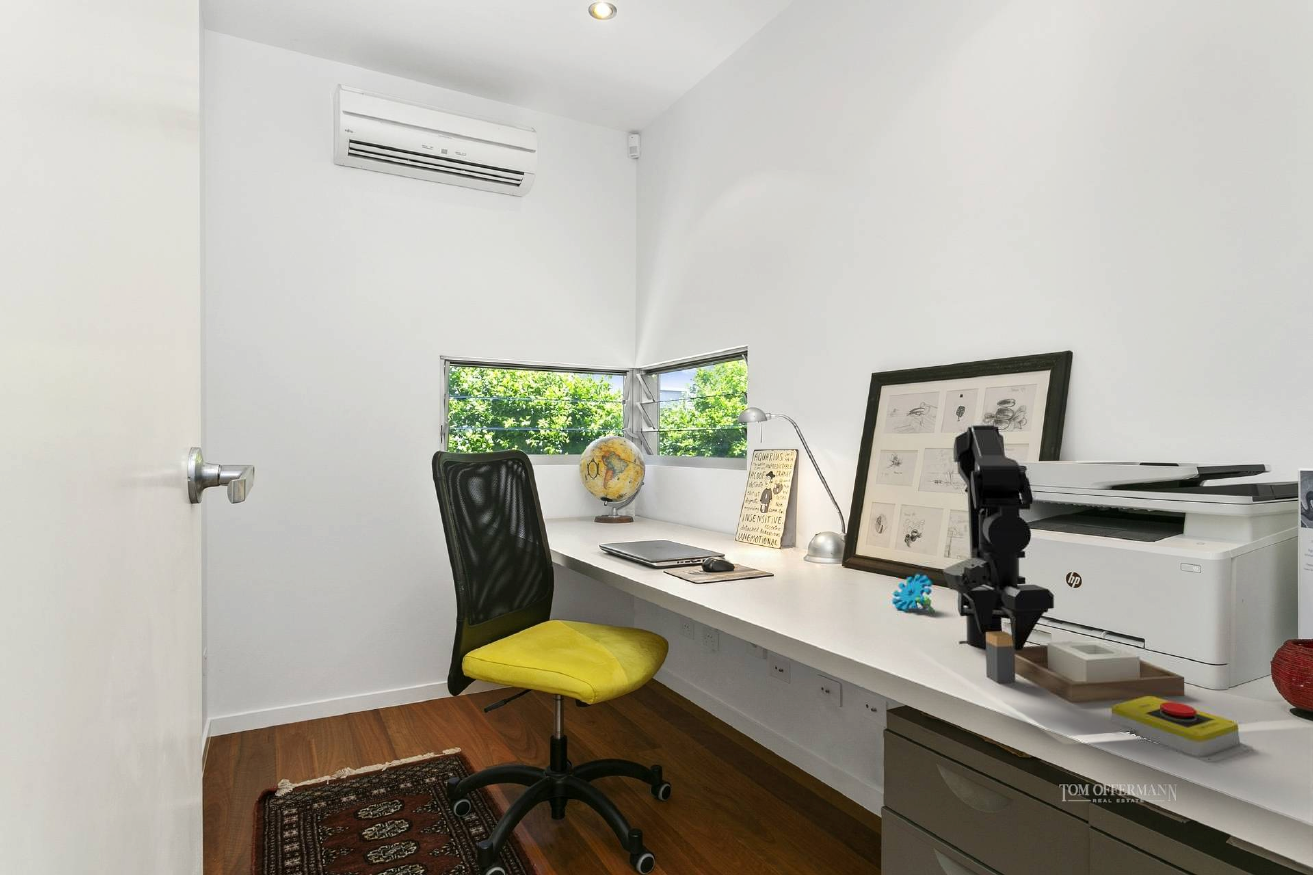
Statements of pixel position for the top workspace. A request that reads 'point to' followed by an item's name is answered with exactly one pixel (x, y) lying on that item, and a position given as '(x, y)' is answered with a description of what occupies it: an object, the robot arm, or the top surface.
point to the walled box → (1150, 683)
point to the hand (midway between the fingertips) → (1000, 641)
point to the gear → (913, 593)
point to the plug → (1000, 657)
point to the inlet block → (1092, 661)
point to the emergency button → (1181, 728)
